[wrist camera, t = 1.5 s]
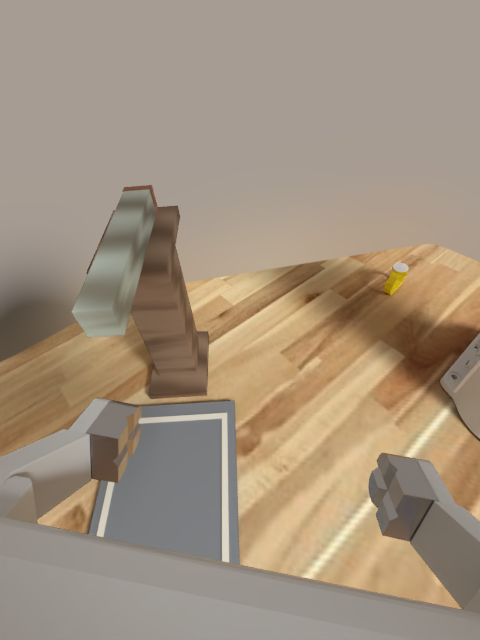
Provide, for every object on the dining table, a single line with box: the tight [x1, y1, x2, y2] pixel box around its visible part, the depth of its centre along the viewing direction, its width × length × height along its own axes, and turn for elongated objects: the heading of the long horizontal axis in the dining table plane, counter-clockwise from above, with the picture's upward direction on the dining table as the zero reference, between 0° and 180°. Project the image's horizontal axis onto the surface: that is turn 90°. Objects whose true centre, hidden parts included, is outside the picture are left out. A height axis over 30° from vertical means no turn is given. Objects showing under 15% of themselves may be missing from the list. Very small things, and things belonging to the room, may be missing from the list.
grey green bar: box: [72, 185, 158, 337], centre depth 32 cm, size 20×3×3 cm, turn 2°
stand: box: [87, 206, 209, 399], centre depth 45 cm, size 12×9×26 cm
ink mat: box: [89, 401, 240, 565], centre depth 41 cm, size 24×18×1 cm
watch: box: [384, 263, 409, 295], centre depth 62 cm, size 6×3×6 cm, turn 133°
